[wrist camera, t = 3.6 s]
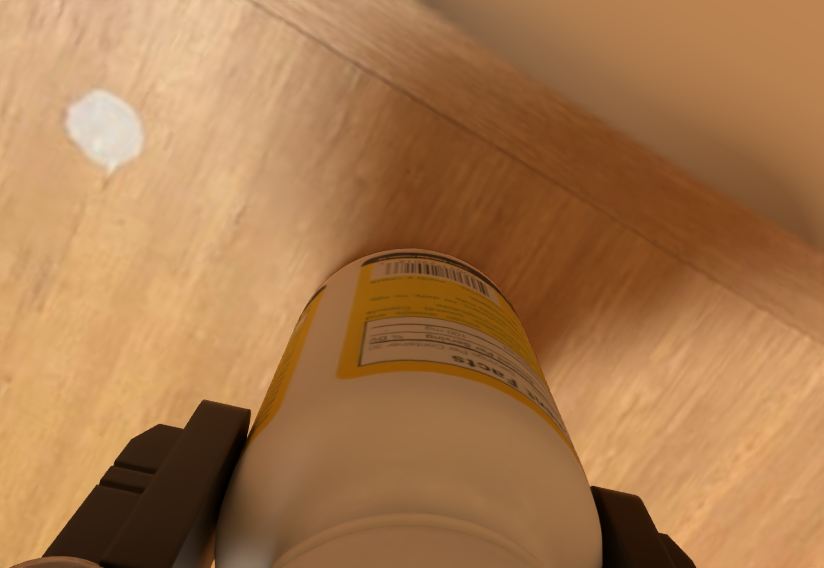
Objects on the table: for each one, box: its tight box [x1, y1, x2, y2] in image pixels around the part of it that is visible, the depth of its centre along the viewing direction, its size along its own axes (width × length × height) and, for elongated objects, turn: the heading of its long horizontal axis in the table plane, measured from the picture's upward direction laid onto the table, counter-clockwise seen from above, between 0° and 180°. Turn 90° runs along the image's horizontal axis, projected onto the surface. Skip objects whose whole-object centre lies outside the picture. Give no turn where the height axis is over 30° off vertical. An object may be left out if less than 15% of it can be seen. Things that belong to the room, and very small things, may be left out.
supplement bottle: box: [214, 248, 603, 568], centre depth 11 cm, size 5×5×10 cm
